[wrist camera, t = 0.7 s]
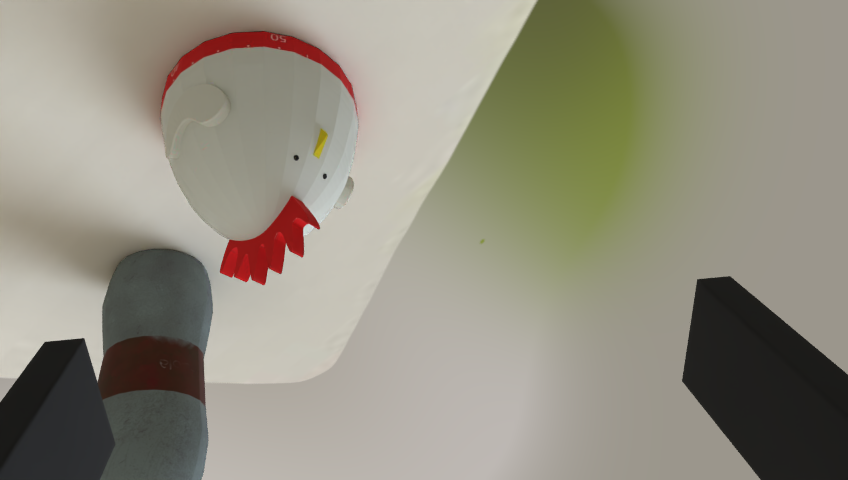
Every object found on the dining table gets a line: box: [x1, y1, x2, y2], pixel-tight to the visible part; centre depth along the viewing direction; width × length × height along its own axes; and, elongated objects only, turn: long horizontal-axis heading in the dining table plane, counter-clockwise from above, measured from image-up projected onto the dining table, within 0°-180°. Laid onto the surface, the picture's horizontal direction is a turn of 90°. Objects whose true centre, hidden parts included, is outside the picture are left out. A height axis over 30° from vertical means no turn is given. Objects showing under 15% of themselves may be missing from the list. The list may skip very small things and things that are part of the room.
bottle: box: [98, 249, 213, 480], centre depth 53 cm, size 9×9×30 cm
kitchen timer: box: [161, 31, 358, 285], centre depth 44 cm, size 14×14×15 cm
